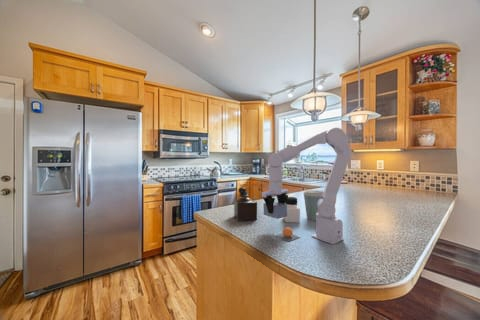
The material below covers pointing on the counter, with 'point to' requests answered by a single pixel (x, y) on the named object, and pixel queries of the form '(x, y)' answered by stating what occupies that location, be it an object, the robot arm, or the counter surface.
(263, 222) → the counter surface
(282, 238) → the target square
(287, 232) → the ball
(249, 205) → the dark brown boxy bottle
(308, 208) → the disposable coffee cup
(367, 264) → the counter surface
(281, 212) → the blue-gray rectangular block
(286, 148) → the robot arm
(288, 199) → the medicine bottle
